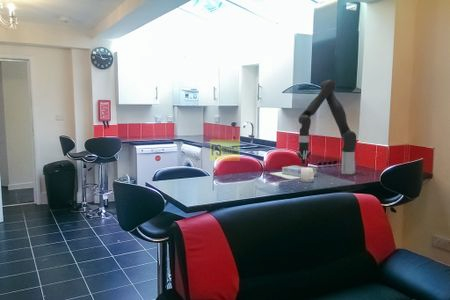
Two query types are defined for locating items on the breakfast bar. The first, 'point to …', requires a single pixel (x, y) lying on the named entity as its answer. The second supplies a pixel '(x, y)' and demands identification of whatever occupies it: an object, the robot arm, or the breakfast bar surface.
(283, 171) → the snack box
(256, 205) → the breakfast bar surface
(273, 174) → the mat
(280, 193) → the breakfast bar surface
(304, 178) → the mug
